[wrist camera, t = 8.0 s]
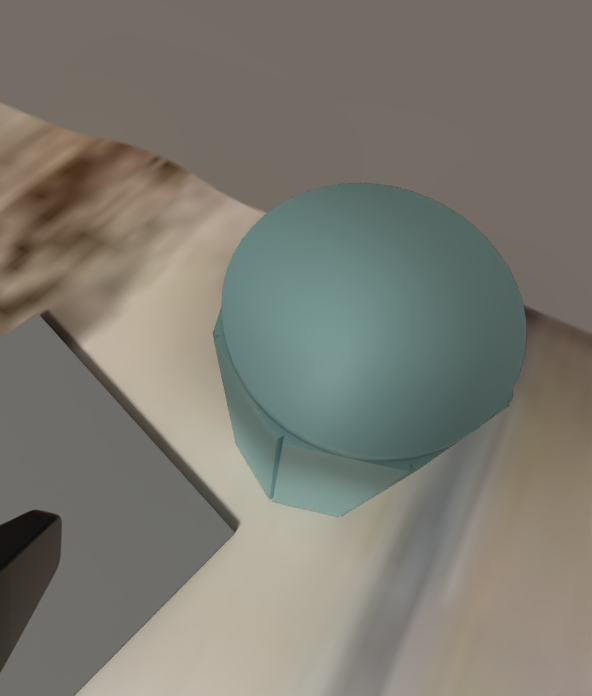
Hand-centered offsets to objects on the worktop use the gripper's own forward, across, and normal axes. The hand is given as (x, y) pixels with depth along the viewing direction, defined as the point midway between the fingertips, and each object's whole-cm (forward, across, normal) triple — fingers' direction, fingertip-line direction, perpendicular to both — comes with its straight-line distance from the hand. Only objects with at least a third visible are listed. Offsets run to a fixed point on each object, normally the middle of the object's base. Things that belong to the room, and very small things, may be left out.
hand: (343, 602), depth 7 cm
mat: (+9, +11, +8) cm, 16 cm away
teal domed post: (+13, 0, +4) cm, 14 cm away
